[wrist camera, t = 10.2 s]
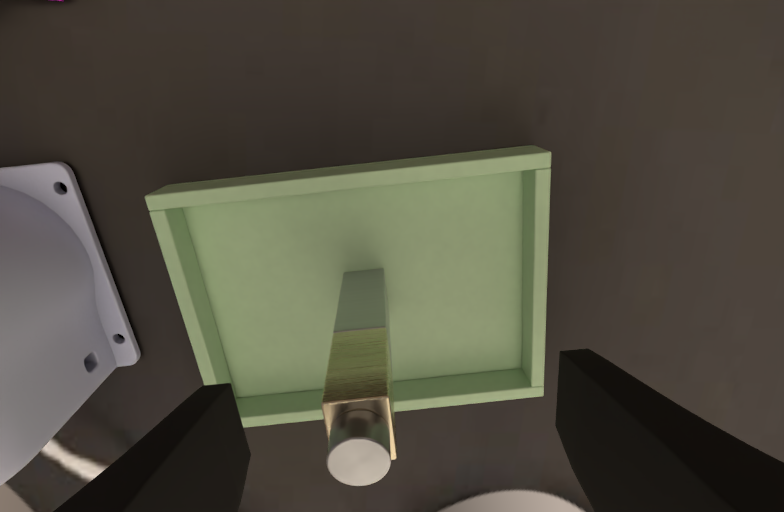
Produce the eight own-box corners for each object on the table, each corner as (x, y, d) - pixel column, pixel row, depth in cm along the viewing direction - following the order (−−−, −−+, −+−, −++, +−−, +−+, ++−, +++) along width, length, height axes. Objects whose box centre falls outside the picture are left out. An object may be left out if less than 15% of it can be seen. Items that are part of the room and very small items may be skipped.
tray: (529, 370, 22) (544, 396, 20) (231, 401, 22) (218, 430, 20) (533, 144, 18) (551, 151, 16) (167, 184, 18) (143, 196, 16)
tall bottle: (389, 311, 20) (399, 491, 11) (350, 315, 20) (329, 498, 11) (383, 267, 19) (390, 424, 10) (343, 272, 19) (315, 432, 10)
